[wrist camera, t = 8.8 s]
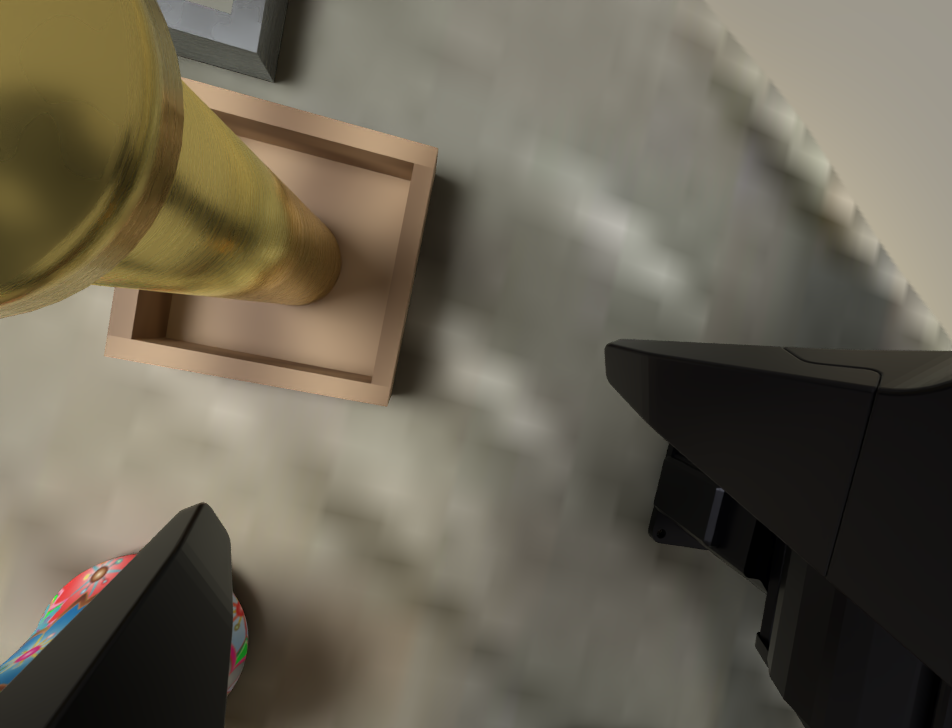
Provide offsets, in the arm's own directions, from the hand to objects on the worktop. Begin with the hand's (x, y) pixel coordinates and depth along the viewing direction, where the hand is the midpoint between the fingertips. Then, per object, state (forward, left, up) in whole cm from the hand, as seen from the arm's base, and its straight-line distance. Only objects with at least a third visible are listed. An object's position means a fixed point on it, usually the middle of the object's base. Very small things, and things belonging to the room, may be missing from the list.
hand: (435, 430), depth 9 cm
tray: (+7, -4, -11) cm, 14 cm away
